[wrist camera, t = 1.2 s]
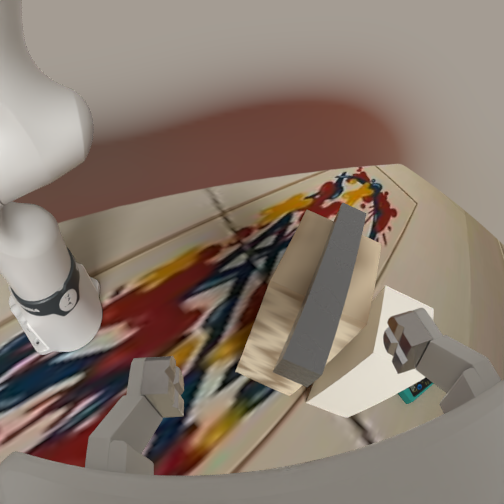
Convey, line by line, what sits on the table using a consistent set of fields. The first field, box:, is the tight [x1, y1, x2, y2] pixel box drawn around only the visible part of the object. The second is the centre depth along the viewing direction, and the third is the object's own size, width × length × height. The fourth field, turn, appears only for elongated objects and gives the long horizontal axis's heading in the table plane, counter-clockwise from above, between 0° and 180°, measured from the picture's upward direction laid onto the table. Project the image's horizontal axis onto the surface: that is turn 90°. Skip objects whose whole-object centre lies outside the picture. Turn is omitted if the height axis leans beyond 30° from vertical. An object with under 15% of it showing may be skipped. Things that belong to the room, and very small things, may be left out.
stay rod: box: [273, 203, 366, 387], centre depth 26 cm, size 3×20×3 cm, turn 155°
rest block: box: [306, 285, 433, 418], centre depth 39 cm, size 8×10×22 cm
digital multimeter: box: [398, 377, 434, 404], centre depth 49 cm, size 7×15×3 cm, turn 113°
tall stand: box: [236, 210, 381, 396], centre depth 40 cm, size 10×12×26 cm
